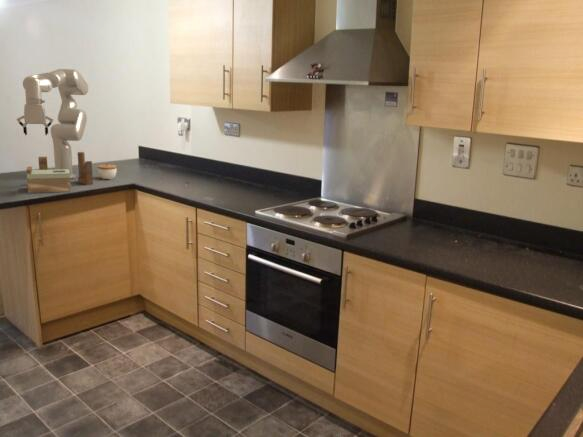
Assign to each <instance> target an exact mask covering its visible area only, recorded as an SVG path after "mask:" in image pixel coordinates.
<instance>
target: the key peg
mask: <svg viewBox="0 0 583 437" xmlns="http://www.w3.org/2000/svg"><path fill="white" fill-rule="evenodd" d="M38 170H49V168H48V157H47V156H38Z"/></svg>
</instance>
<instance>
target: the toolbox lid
mask: <svg viewBox="0 0 583 437" xmlns="http://www.w3.org/2000/svg"><path fill="white" fill-rule="evenodd" d="M25 170H26V180H27V179H45V178H70V174H69V169H57V170H55V169H48V170H39V169H33V166H27V167H26V169H25Z"/></svg>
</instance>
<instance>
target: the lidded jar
mask: <svg viewBox="0 0 583 437" xmlns="http://www.w3.org/2000/svg"><path fill="white" fill-rule="evenodd" d="M117 170H118V168H117V165H116V164H109V162H107V163H106V164H100V165H97V172H98V175H99V177H100V178H101V179H102V180H104V179H110V180H114V178H115V177H116V175H117Z"/></svg>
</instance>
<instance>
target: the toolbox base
mask: <svg viewBox="0 0 583 437" xmlns="http://www.w3.org/2000/svg"><path fill="white" fill-rule="evenodd" d="M26 182H27V192H28V194H29V193H34V194H35V193H54V192H56V193H58V192H59V193H61V192H71V179H70V178H45V179H27V178H26Z"/></svg>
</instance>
